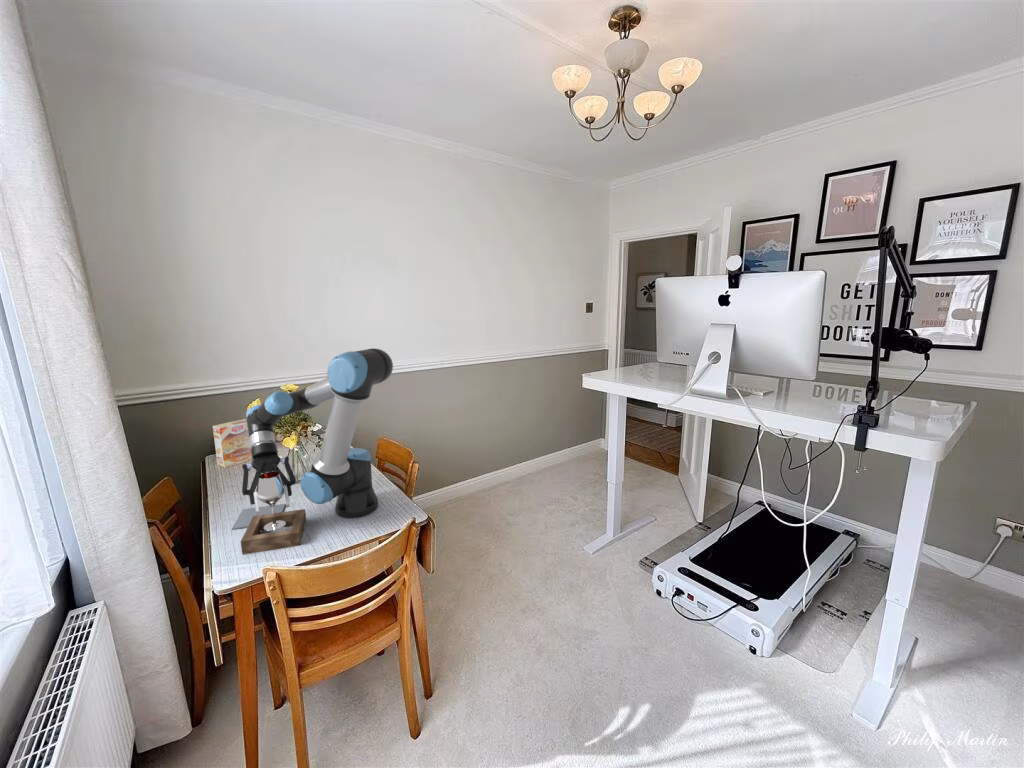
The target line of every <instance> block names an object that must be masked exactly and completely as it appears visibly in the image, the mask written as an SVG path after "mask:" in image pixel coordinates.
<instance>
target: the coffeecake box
mask: <svg viewBox="0 0 1024 768" xmlns="http://www.w3.org/2000/svg"><path fill="white" fill-rule="evenodd" d="M246 420H247V419H246V418H243V419H238V420H233V421H228V422H224V423H219V424H215V425H212V431H213V432H212V433H213V439H214V446H215V447H214V448H215V449H214V450H215V455H216V463H217V466H219V465H220V466H219V467H221V466H222V467H221V468H223V467H224V469H226V467H227V468H230V467H232V466H236V465H239V464H243V463H245V462H246V461H247V462H249V460H250V461H252V454H251V447H250V439H249V432H248V426H247V422H246Z"/></svg>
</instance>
